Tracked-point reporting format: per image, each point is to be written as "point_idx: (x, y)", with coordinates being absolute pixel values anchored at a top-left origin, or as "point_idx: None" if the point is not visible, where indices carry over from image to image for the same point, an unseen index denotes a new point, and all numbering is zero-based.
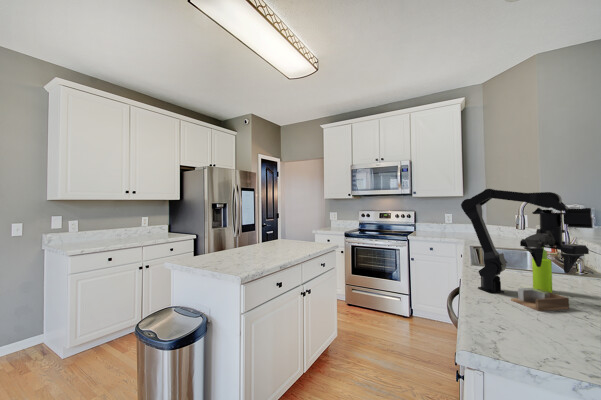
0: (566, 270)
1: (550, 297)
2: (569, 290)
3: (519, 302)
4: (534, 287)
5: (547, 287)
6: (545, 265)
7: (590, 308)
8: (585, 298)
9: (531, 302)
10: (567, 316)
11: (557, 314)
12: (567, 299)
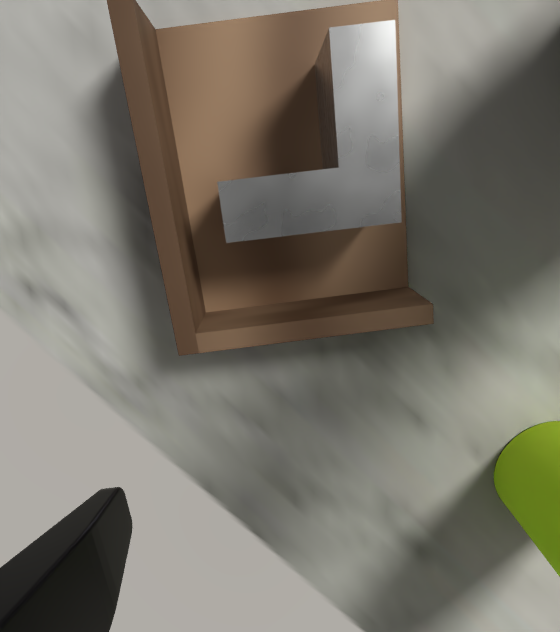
0: (60, 522)
1: (305, 309)
2: (517, 627)
3: (304, 11)
4: None
5: (521, 489)
6: None
7: (204, 464)
8: (372, 587)
9: (288, 119)
10: (44, 179)
11: (77, 138)
12: (177, 340)
